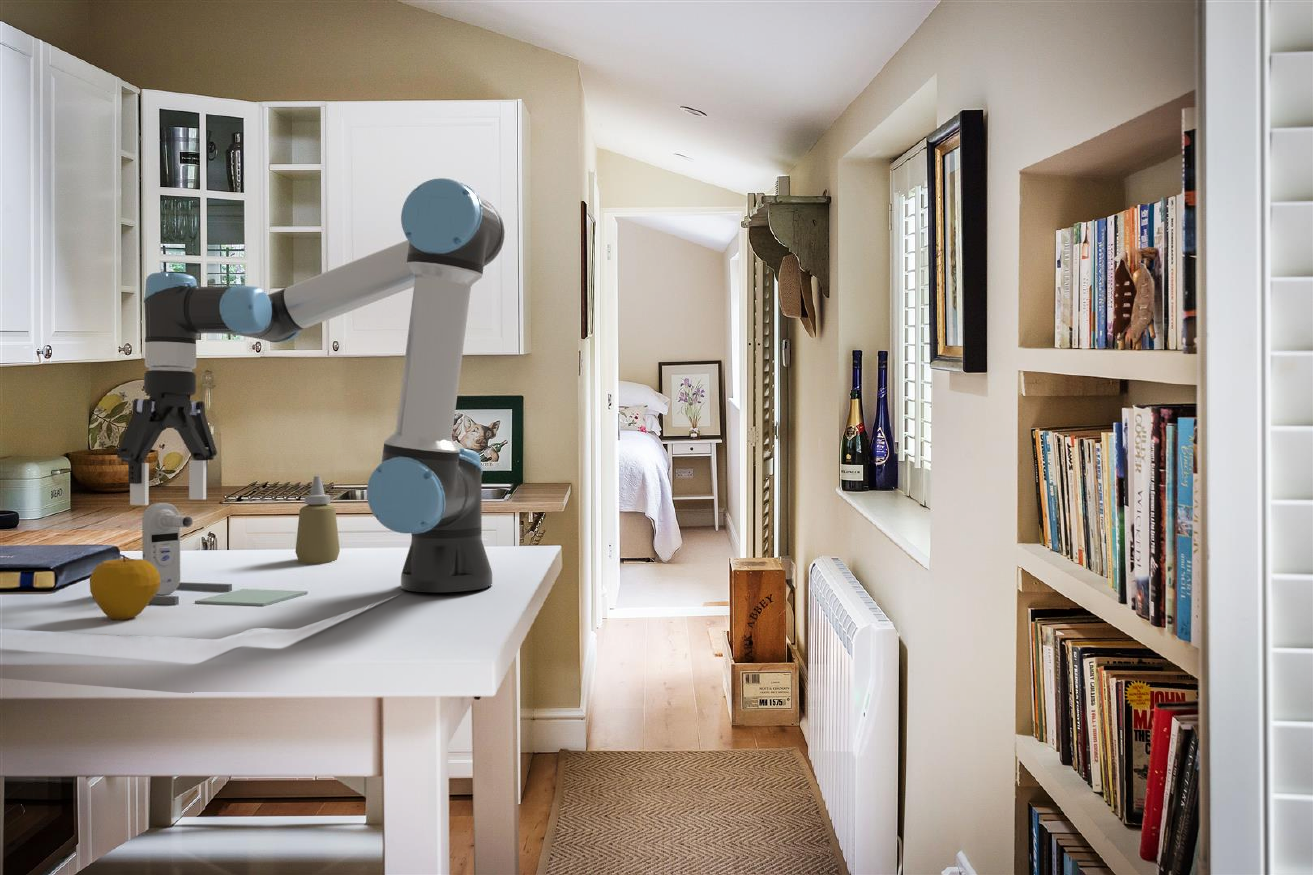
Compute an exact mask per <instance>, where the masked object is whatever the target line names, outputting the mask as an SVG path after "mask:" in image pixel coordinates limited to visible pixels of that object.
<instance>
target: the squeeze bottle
mask: <svg viewBox="0 0 1313 875" xmlns="http://www.w3.org/2000/svg"><path fill="white" fill-rule="evenodd" d="M310 489H311V490H310V492H309V493H310V494H308V495H304V504H305V505H304V506H302V507H301V508H300V509H299V512H298V522H297V524H298V525H297V532H296V541H295V542H296V544H295V551H294V552H295V554H296V558H297V560H298V563H299V564H303V565H322V563H323V564H329V563H330V564H331V563H333V562H332V561H334V562H336V561H337V560H338V557H339V554H340V551H341V550H340V541H339V540H340V539H339V532H338V522H337V512H336V508H335V507H333V506H332V505H330V504H331V495H330V494H325V489H324V486H323V481H322V477H321V476H320V475H316V476H315V475H314V476H313V480H312V485H311V488H310ZM335 560H336V561H335Z"/></svg>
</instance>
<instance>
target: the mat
mask: <svg viewBox="0 0 1313 875" xmlns="http://www.w3.org/2000/svg"><path fill="white" fill-rule="evenodd" d="M308 593H309V591H308V590H281V589H280V590H279V589H255V588H252V589H251V588H250V589H249V588H246V589H245V588H242V589H237V590H232V591H230V592H225V593H221V594H216V595H212V596H208V597H205V598H201V599H196V600H194V604H199V605H202V604H204V605H227V606H228V605H230V606H232V605H233V606H255V607H256V606H257V607H258V606H259V607H265V606H268V605H272V604H275V603H276V604H277V603H279V602H282V601H285V600H289V599H293V598H298V597H301V596H304V595H308Z"/></svg>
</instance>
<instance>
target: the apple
mask: <svg viewBox="0 0 1313 875" xmlns="http://www.w3.org/2000/svg"><path fill="white" fill-rule="evenodd" d="M90 574H91V575H90V577H89V592H90V594H91V595H92V599H93V598H94V599H93V600H94V602H95V603H96V605H97V607H99V608H100V609H101V611H102V612H103V614H105V615H106V616H107V617H108V618H109V619H112V620H119V621H120V620H123V621H124V620H130V619H133V618H135V617H137V616H138V615H140V614H141V613H142V612H143V611H144V610H145V609H146V608H147V606H148V605H149V604H148V603H149V602H150V601H151V600H152V598H153V597H154V596H155V595H156V593H157V591H158V590H159V587H160V583H161V580H160V575H159V573H158V571H157V569H156V568H155V567H154V566H153V565H152V564H151V563H150V562H148V561H146V560H143V558H141V559H140V558H139V559H138V558H126V556H125V555H122V558H116V559H115V558H114V559H109V560H103V561H102V562H101V563H99V564H98V565H97V566H96V567H95V568H94V569H93V571H92V572H91V573H90ZM156 596H157V595H156Z"/></svg>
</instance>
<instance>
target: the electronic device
mask: <svg viewBox="0 0 1313 875" xmlns="http://www.w3.org/2000/svg"><path fill="white" fill-rule="evenodd" d="M177 508H178V507H176V506H174V505H173V504H172V503H168V502H155V503H152V504H150V505H148V507H146V508H145V509H144V510H145V511H144V512H143V515H142V522H141V523H142V524H141V526H142V527H141V528H142V531H141V532H142V535H141V536H142V537H141V538H142V546H141V547H142V559H143V560H146V561H148V562H150V563H151V564H152V565H153V566H154V567H155V568H156V569H157V571H158V573H159V575H160V580H161V583H160V587H159V590H158V591H157V593H156V596H169V595H170V594H172V593H174V592H175V591H176V590H178V589H177V587H178V586H179V583H180V582H181V579H182V578H181V528H186V529H187V528H190V527H191V526H192V525H193V522H194V521H193V518H192V517H191V516H187V515H180V512H179V510H178V509H177Z"/></svg>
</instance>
